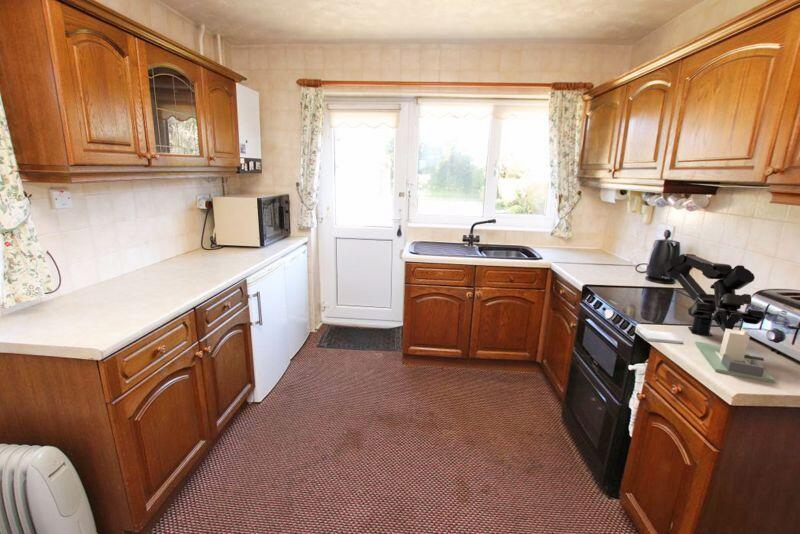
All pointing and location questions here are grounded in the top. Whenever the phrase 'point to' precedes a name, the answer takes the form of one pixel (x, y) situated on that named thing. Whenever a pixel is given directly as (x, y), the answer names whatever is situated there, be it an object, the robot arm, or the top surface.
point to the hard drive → (659, 336)
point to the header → (743, 366)
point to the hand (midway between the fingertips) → (728, 335)
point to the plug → (736, 345)
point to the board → (715, 361)
